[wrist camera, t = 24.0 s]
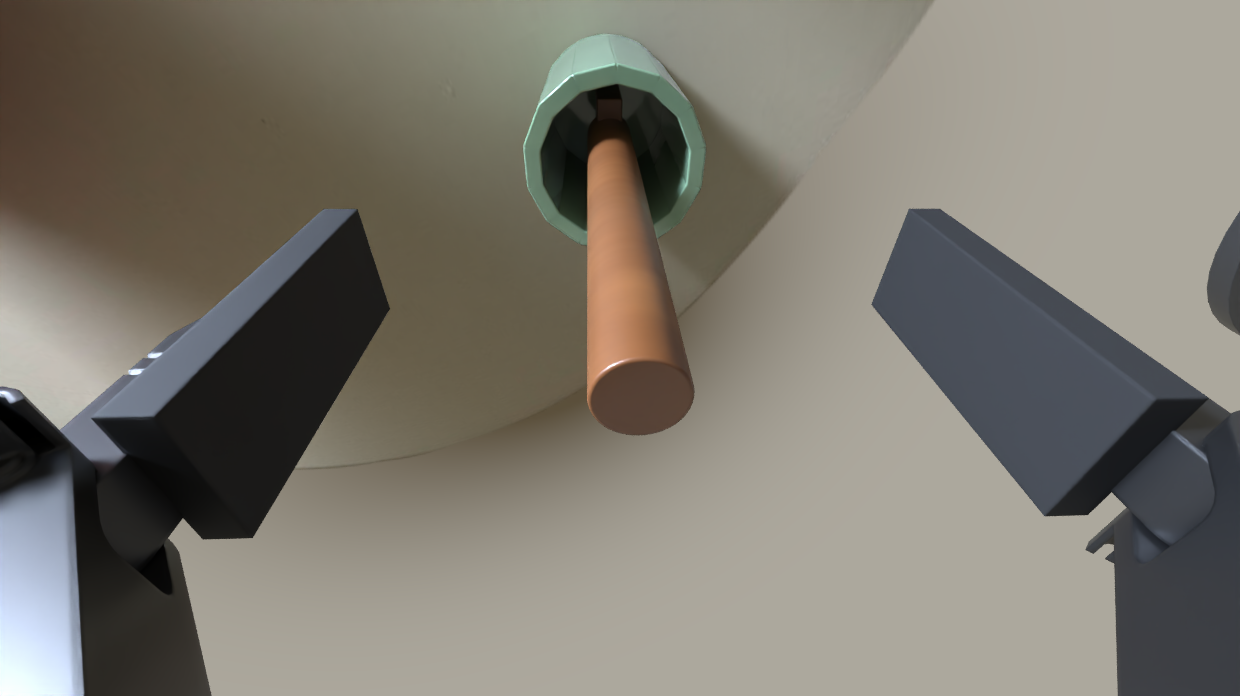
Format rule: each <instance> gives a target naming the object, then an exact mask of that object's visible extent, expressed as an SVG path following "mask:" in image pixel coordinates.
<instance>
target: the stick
mask: <svg viewBox="0 0 1240 696" xmlns="http://www.w3.org/2000/svg"><path fill="white" fill-rule="evenodd" d="M595 91H596V117H595V118H594V119H593V121H592V122H591V123H590V126H589V128H588V139H587V402H588V406H589V409H590V411H591V413H592V415H593V416H594V417H595V419H596V420H597V421H598V422H599V423H601V424H602V425H603V426H604V427H606V428H608V429H610V430H612V431H615V432H618V433H622V434H626V435H647V434H653V433H657V432H660V431H663V430H665V429H668V428H669V427H671V426H673V425H675V424H676V423H677V422H679V421H680V420H681V419H682V418H683V417H684V416H685V415H686V414H687V412H688V411H689V409H690V407H691V405H692V403H693V399H694V385H693V381H692V377H691V373H690V369H689V365H688V361H687V357H686V353H685V349H684V345H683V341H682V337H681V333H680V329H679V325H678V321H677V317H676V313H675V309H674V305H673V301H672V297H671V293H670V289H669V285H668V281H667V277H666V273H665V269H664V265H663V261H662V257H661V253H660V249H659V245H658V241H657V237H656V233H655V229H654V225H653V221H652V217H651V213H650V209H649V205H648V201H647V197H646V193H645V189H644V185H643V181H642V177H641V173H640V169H639V165H638V161H637V157H636V153H635V149H634V145H633V141H632V137H631V133H630V129H629V126H628V124H627V122H626V121H625V120H624V119H623V118H622V101H623V100H622V96H621V93H620V89H619V85H617V84H615V85H611V86H607V87H603V88H599V89H595Z"/></svg>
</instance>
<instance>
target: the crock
mask: <svg viewBox="0 0 1240 696" xmlns="http://www.w3.org/2000/svg"><path fill="white" fill-rule="evenodd" d="M615 84H617V85H619V89H620V93H621V96H622V100H623V101H622V118H623V119H624V120H625V121H626V122H627V124H628V126H629V129H630V133H631V137H632V141H633V145H634V149H635V153H636V157H637V161H638V165H639V169H640V173H641V177H642V181H643V185H644V189H645V193H646V197H647V201H648V205H649V209H650V213H651V217H652V221H653V225H654V229H655V233H656V237H657V239H658V238H659V237H661V236H662V235H663V234H665V233H666V232H668V231H669V230H671V229H672V228H673V227H675V226H676V225H678V224H679V223H680V222H681V221H682V220H683V218H684V216H685V215H686V213H687V211H688V210H689V208H690V206H691V205H692V203H693V201H694V200H695V198H696V196H697V195H698V193H699V191H700V190H701V186H702V181H703V172H704V164H705V156H706V143H705V140H704V137H703V134H702V132H701V129H700V126H699V123H698V120H697V117H696V114H695V111H694V108H693V106H692V105H691V103H690V102H689V100H688V99H687V98H686V96H685V95H684V94H683V92H682V91H681V90H680V88H679V87H678V85H677V84H676V83H675V81H674V80H673V79H672V77H671V76H670V75H669V73H668V72H667V70H666V69H665V68H664V66H663V65H662V64H661V63H660V62H659V61H658V60H657V59H656V58H655V57H654V56H653V55H652V54H651V52H650V51H649V50H647V49H646V48H645V47H644V46H643V45H642V44H640V43H639V42H636V41H634V40H632V39H630V38H627V37H625V36H621V35H617V34H597V35H593V36H589V37H586V38H584V39H581V40H579V41H578V42H576V43H574V44H573V45H571V46H570V47H569V48H568V49H566V50H565V51H564V52H563V53H562V54H561V55H560V56H559V58H558V59H557V61H555V62H554V63H553V65H552V66H551V69H550V72H549V75H548V77H547V80H546V83H545V86H544V88H543V91H542V94H541V97H540V99H539V102H538V105H537V108H536V111H535V114H534V116H533V119H532V122H531V125H530V128H529V131H528V133H527V136H526V139H525V142H524V147H523V152H524V162H525V172H526V181H527V187H528V191H529V192H530V194H531V196H532V197H533V199H534V201H535V202H536V204H537V206H538V207H539V209H540V211H541V212H542V214H543V216H544V217H545V219H546V221H547V222H549V224H551V225H552V226H553V227H555V228H556V229H558V230H559V231H561V232H562V233H563V234H565V235H566V236H568V237H569V238H571V239H572V240H573V241H575V242H576V243H579V244H581V245H586V246H587V139H588V128H589V126H590V123H591V122H592V121H593V119H594V118H595V117H596V91H595V89H599V88H603V87H607V86H611V85H615Z"/></svg>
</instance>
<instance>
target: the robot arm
mask: <svg viewBox="0 0 1240 696" xmlns="http://www.w3.org/2000/svg"><path fill="white" fill-rule="evenodd" d="M872 305H873V307H874V308H875V309H876V310H877V312H878V313H879V314H880V316H881V317H882V318H883V319H884V320H885V321H886V323H887V324H888V325H889V326H890V328H891V329H892V330H893V331H894V332H895V334H896V335H897V336H898V337H899V339H900V340H901V341H902V342H903V343H904V345H905V346H906V347H907V349H908V350H909V351H910V352H911V353H912V355H913V356H914V357H915V358H916V360H917V361H918V362H919V363H920V364H921V366H922V367H923V368H924V369H925V371H926V372H927V373H928V374H929V375H930V377H931V378H932V379H933V380H934V382H935V383H936V384H937V385H938V386H939V388H940V389H941V390H942V391H943V393H944V394H945V395H946V396H947V398H948V399H949V400H950V401H951V402H952V404H953V405H954V406H955V407H956V409H957V410H958V411H959V412H960V413H961V415H962V416H963V417H964V418H965V420H966V421H967V422H968V423H969V424H970V426H971V427H972V428H973V429H974V430H975V432H976V433H977V434H978V435H979V437H980V438H981V439H982V440H983V442H984V443H985V444H986V445H987V446H988V448H989V449H990V450H991V451H992V452H993V454H994V455H995V456H996V457H997V459H998V460H999V461H1000V462H1001V464H1002V465H1003V466H1004V467H1005V468H1006V470H1007V471H1008V472H1009V473H1010V475H1011V476H1012V477H1013V478H1014V479H1015V481H1016V482H1017V483H1018V484H1019V485H1020V487H1021V488H1022V489H1023V490H1024V492H1025V493H1026V494H1027V495H1028V496H1029V498H1030V499H1031V500H1032V501H1033V503H1034V504H1035V505H1036V506H1037V508H1038V509H1039V510H1040V511H1041V512H1042V514H1043V515H1044V516H1070V515H1088V514H1089V513H1090V512H1091V511H1092V510H1093V509H1094V508H1096V507H1097V506H1098V505H1099V504H1100V503H1101V502H1102V501H1103V500H1104V499H1105V498H1106V497H1107V496H1108V495H1109V494H1110V493H1111V492H1112V493H1113V494H1114V495H1115V496H1116V497H1117V498H1118V499H1119V500H1120V501H1121V502H1122V503H1123V504H1124V505H1125V506H1126V507H1127V508H1126V509H1125V510H1124V511H1122V512H1121V513H1120V514H1119V515H1118V516H1117V517H1116V518H1115V519H1114V520H1113V521H1111V522H1110V523H1109V524H1108V525H1107V526H1106V527H1105V528H1104V529H1102V530H1101V531H1100V532H1099V533H1098V534H1097V535H1096V536H1095V537H1094V538H1093V539H1091V540H1090V541H1089V543H1088V545H1087V547H1086V550H1087V551H1089V552H1091V553H1093V554H1094V553H1095V552H1096V551H1097V550H1098V549H1099V548H1101V547H1102V546H1103V545H1104V544H1113V545H1114V551H1113V552H1112V553H1111V554H1109V555H1108V556H1107V557H1106V558H1105V559H1106V560H1108V561H1110V562H1112V563H1114V564H1115V565H1114V567H1115V605H1116V640H1117V641H1116V642H1117V679H1118V696H1240V411H1236V412H1233V413H1229V412H1228V411H1227V410H1225V409H1224V408H1222V407H1221V406H1219V405H1218V404H1216V403H1215V402H1214V401H1212V400H1211V399H1209V398H1208V397H1207V396H1205V395H1204V394H1202V393H1201V392H1200V391H1198V390H1196V389H1195V388H1194V387H1193V386H1191V385H1189V384H1188V383H1187V382H1185V381H1184V380H1183V379H1181V378H1180V377H1178V376H1177V375H1175V374H1174V373H1173V372H1171V371H1170V370H1168V369H1167V368H1165V367H1164V366H1163V365H1161V364H1160V363H1158V362H1157V361H1155V360H1154V359H1153V358H1151V357H1149V356H1148V355H1147V354H1145V353H1144V352H1143V351H1141V350H1140V349H1138V348H1137V347H1136V346H1134V345H1133V344H1131V343H1130V342H1129V341H1127V340H1126V339H1124V338H1123V337H1121V336H1120V335H1119V334H1117V333H1116V332H1114V331H1113V330H1111V329H1110V328H1109V327H1107V326H1106V325H1104V324H1103V323H1101V322H1100V321H1099V320H1097V319H1096V318H1094V317H1093V316H1092V315H1090V314H1089V313H1087V312H1086V311H1084V310H1083V309H1082V308H1080V307H1079V306H1077V305H1076V304H1074V303H1073V302H1072V301H1070V300H1069V299H1067V298H1066V297H1064V296H1063V295H1062V294H1060V293H1059V292H1057V291H1056V290H1055V289H1053V288H1052V287H1050V286H1049V285H1047V284H1046V283H1045V282H1043V281H1042V280H1040V279H1039V278H1037V277H1036V276H1034V275H1033V274H1032V273H1030V272H1029V271H1027V270H1026V269H1025V268H1023V267H1022V266H1020V265H1019V264H1018V263H1016V262H1015V261H1013V260H1012V259H1010V258H1009V257H1007V256H1006V255H1005V254H1003V253H1002V252H1000V251H999V250H998V249H996V248H995V247H993V246H992V245H990V244H989V243H988V242H986V241H985V240H983V239H982V238H980V237H979V236H978V235H976V234H975V233H973V232H972V231H970V230H969V229H968V228H966V227H965V226H963V225H962V224H961V223H959V222H958V221H956V220H955V219H954V218H952V217H951V216H949V215H948V214H946V213H945V212H943V211H942V210H941V209H909V210H908V213H907V215H906V218H905V221H904V223H903V226H902V228H901V231H900V233H899V236H898V238H897V241H896V243H895V246H894V249H893V251H892V254H891V256H890V259H889V261H888V264H887V266H886V269H885V272H884V274H883V276H882V279H881V282H880V284H879V287H878V289H877V292H876V294H875V297H874V299H873V302H872ZM389 310H390V307H389V304H388V301H387V298H386V295H385V292H384V289H383V286H382V283H381V280H380V277H379V274H378V270H377V267H376V264H375V261H374V258H373V255H372V252H371V249H370V246H369V243H368V240H367V237H366V234H365V231H364V228H363V224H362V221H361V218H360V215H359V212H358V209H323V210H322V211H321V212H320V213H319V214H318V215H316V216H315V217H314V218H313V219H312V220H311V221H310V222H309V223H308V224H306V225H305V226H304V227H303V228H302V229H301V230H300V231H299V232H297V233H296V234H295V235H294V236H293V237H292V238H291V239H290V240H289V241H287V242H286V243H285V244H284V245H283V246H282V247H281V248H280V249H278V250H277V251H276V252H275V253H274V254H273V255H272V256H271V257H270V258H268V259H267V260H266V261H265V262H264V263H263V264H262V265H261V266H259V267H258V268H257V269H256V270H255V271H254V272H253V273H252V274H250V275H249V276H248V277H247V278H246V279H245V280H244V281H243V282H242V283H240V284H239V285H238V286H237V287H236V288H235V289H234V290H233V291H231V292H230V293H229V294H228V295H227V296H226V297H225V298H224V299H223V300H221V301H220V302H219V303H218V304H217V305H216V306H215V307H214V308H212V309H211V310H210V311H209V312H208V313H207V314H206V315H205V316H204V317H202V318H200V319H198V320H196V321H195V322H193V323H191V324H189V325H187V326H185V327H184V328H182V329H180V330H178V331H176V332H174V333H173V334H171V335H169V336H168V337H167V338H166V339H165V340H163V341H162V342H161V343H160V344H159V345H158V346H157V347H155V348H154V349H153V350H152V351H151V352H150V353H148V354H147V355H148V358H143V359H142V360H140V361H139V362H138V363H137V364H136V365H135V366H133V367H132V368H131V369H130V370H129V375H123V376H122V377H121V378H120V379H118V380H117V381H116V382H115V383H114V384H113V385H112V386H110V387H109V388H108V389H107V390H106V391H105V392H103V393H102V394H101V395H100V396H99V397H98V398H97V399H95V400H94V401H93V402H92V403H91V404H90V405H88V406H87V407H86V408H85V409H84V410H83V411H82V412H80V413H79V414H78V415H77V416H76V417H75V418H73V419H72V420H71V421H70V422H69V423H68V424H66V425H65V426H64V427H63V428H62V429H61V430H59V429H58V428H57V427H56V426H55V425H54V424H53V423H52V422H51V421H50V420H49V419H48V418H47V417H46V416H45V415H44V414H43V413H42V412H41V411H40V410H39V409H37V408H36V407H35V406H34V405H33V404H32V403H31V402H30V401H29V400H28V399H27V398H26V397H25V396H24V395H23V394H22V393H21V392H20V391H19V390H16V389H12V388H8V387H0V696H211V691H210V687H209V682H208V679H207V674H206V669H205V665H204V660H203V656H202V651H201V647H200V643H199V639H198V634H197V630H196V625H195V621H194V616H193V612H192V607H191V603H190V599H189V594H188V590H187V586H186V581H185V577H184V572H183V568H182V563H181V559H180V554H179V552H178V550H177V548H176V547H175V546H174V544H173V543H172V542H171V541H170V540H169V539H168V537H169V536H170V534H171V533H172V532H173V530H174V529H175V528H176V526H177V525H178V524H179V522H180V521H181V520H182V518H184V519H185V520H186V522H187V523H188V524H189V525H190V526H191V527H192V528H193V529H194V530H195V531H196V532H197V534H198V535H199V536H200V537H201V538H202V539H236V538H253V536H254V535H255V533H256V531H257V530H258V528H259V526H260V524H261V523H262V521H263V520H264V518H265V516H266V515H267V513H268V511H269V510H270V508H271V506H272V505H273V503H274V501H275V500H276V498H277V496H278V495H279V493H280V491H281V490H282V488H283V486H284V485H285V483H286V481H287V480H288V478H289V476H290V475H291V473H292V471H293V470H294V468H295V466H296V465H297V463H298V461H299V460H300V458H301V456H302V455H303V453H304V451H305V450H306V448H307V446H308V445H309V443H310V441H311V440H312V438H313V436H314V435H315V433H316V431H317V430H318V428H319V426H320V425H321V423H322V421H323V420H324V418H325V416H326V415H327V413H328V411H329V410H330V408H331V406H332V405H333V403H334V401H335V400H336V398H337V396H338V395H339V393H340V391H341V390H342V388H343V386H344V385H345V383H346V381H347V380H348V378H349V376H350V375H351V373H352V371H353V370H354V368H355V366H356V365H357V363H358V361H359V360H360V358H361V356H362V355H363V353H364V351H365V350H366V348H367V346H368V345H369V343H370V341H371V340H372V338H373V336H374V335H375V333H376V331H377V330H378V328H379V326H380V325H381V323H382V321H383V320H384V318H385V316H386V315H387V313H388V311H389Z"/></svg>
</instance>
